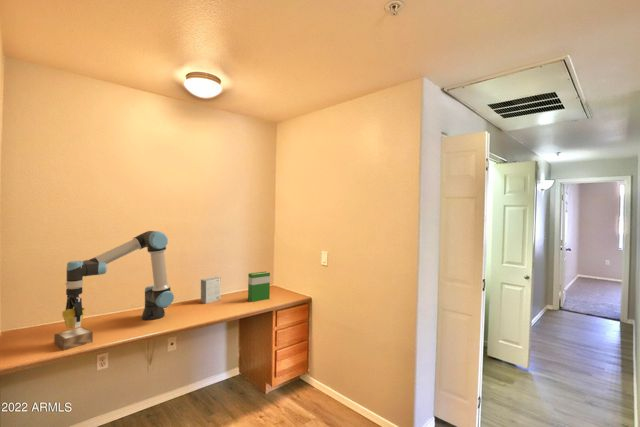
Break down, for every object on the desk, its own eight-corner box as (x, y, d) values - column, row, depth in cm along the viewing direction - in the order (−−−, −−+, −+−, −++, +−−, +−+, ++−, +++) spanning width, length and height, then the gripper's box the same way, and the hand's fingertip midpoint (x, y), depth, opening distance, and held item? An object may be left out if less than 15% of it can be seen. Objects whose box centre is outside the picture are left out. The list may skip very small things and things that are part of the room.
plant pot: (72, 323, 189) (72, 307, 189) (88, 323, 188) (89, 307, 189) (57, 329, 178) (57, 312, 179) (74, 330, 178) (75, 312, 178)
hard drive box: (215, 298, 283) (215, 276, 283) (220, 299, 279) (221, 277, 279) (200, 302, 270) (200, 279, 270) (205, 303, 266) (205, 280, 266)
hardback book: (265, 297, 290) (265, 271, 290) (269, 298, 284) (269, 272, 284) (248, 300, 279) (248, 273, 279) (251, 302, 273) (252, 274, 273)
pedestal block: (82, 336, 193) (82, 326, 193) (92, 342, 186) (92, 331, 186) (54, 344, 181) (54, 333, 181) (63, 350, 174) (63, 339, 174)
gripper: (59, 286, 187) (58, 323, 187) (74, 291, 174) (73, 331, 174) (74, 283, 193) (73, 319, 193) (90, 289, 181) (89, 327, 181)
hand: (73, 325), depth 184 cm, fingers closed on plant pot, 10 cm apart
